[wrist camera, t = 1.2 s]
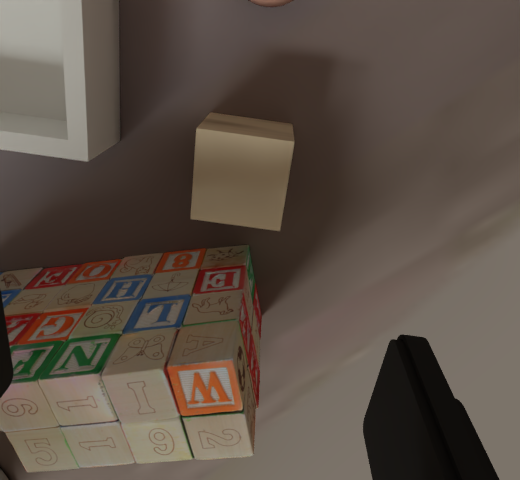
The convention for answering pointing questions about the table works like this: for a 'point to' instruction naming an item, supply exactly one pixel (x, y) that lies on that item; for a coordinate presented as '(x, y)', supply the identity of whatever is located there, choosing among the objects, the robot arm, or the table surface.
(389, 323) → the table surface
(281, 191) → the cube
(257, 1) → the smooth tan pebble
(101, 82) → the tote
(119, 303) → the stack of blocks
